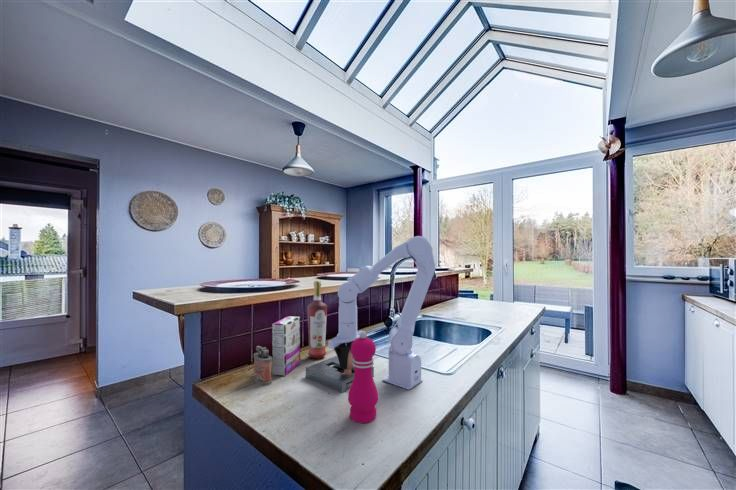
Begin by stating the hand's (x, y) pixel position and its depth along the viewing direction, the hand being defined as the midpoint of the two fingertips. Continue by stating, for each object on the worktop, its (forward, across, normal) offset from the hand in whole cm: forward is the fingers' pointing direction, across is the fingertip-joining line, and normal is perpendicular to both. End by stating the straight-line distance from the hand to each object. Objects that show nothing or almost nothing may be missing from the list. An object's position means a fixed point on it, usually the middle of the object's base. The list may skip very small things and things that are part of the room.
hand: (347, 366), depth 91 cm
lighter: (+4, +17, -20) cm, 26 cm away
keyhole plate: (+4, 0, -4) cm, 5 cm away
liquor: (+4, -7, -22) cm, 24 cm away
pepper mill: (+4, +12, +16) cm, 21 cm away
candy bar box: (+4, +7, -22) cm, 23 cm away
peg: (+4, 0, 0) cm, 4 cm away
